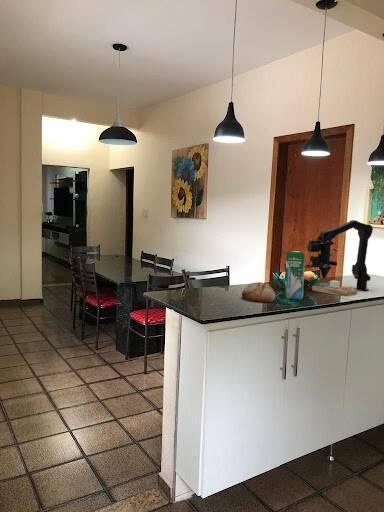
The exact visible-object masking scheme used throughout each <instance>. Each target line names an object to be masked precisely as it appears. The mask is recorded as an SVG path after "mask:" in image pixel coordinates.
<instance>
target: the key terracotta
mask: <svg viewBox="0 0 384 512" xmlns="http://www.w3.org/2000/svg"><path fill="white" fill-rule="evenodd" d="M340 287H341V290H346V291H349V290H351V289H352V286H347V285H343V286H340Z"/></svg>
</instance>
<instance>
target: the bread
mask: <svg viewBox="0 0 384 512" xmlns="http://www.w3.org/2000/svg"><path fill="white" fill-rule="evenodd" d="M241 296H242V298H243V299H244V298H245V299H244V300H246V299H247V300H246V301H249V300H251V301H250V302H254V301H258V302H257V303H271V302H273V301H275V299H276V292H275V291H274V288H272V287H271V286H270V284H268V283H262V281H259V282H251V283H249V284H248V285H247V286H246V287H244V288H243V290H242V292H241Z"/></svg>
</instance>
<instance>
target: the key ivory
mask: <svg viewBox="0 0 384 512" xmlns="http://www.w3.org/2000/svg"><path fill="white" fill-rule="evenodd" d="M329 285H330V287H332V288H339V287H341V286H340V285H341V281H340V280H334V279H333V280H330V281H329Z"/></svg>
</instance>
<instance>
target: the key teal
mask: <svg viewBox="0 0 384 512" xmlns="http://www.w3.org/2000/svg"><path fill="white" fill-rule="evenodd" d="M318 285H319V286H321V287H328V286H329V285H330V282H329V283H328V282H319V283H318Z"/></svg>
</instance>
